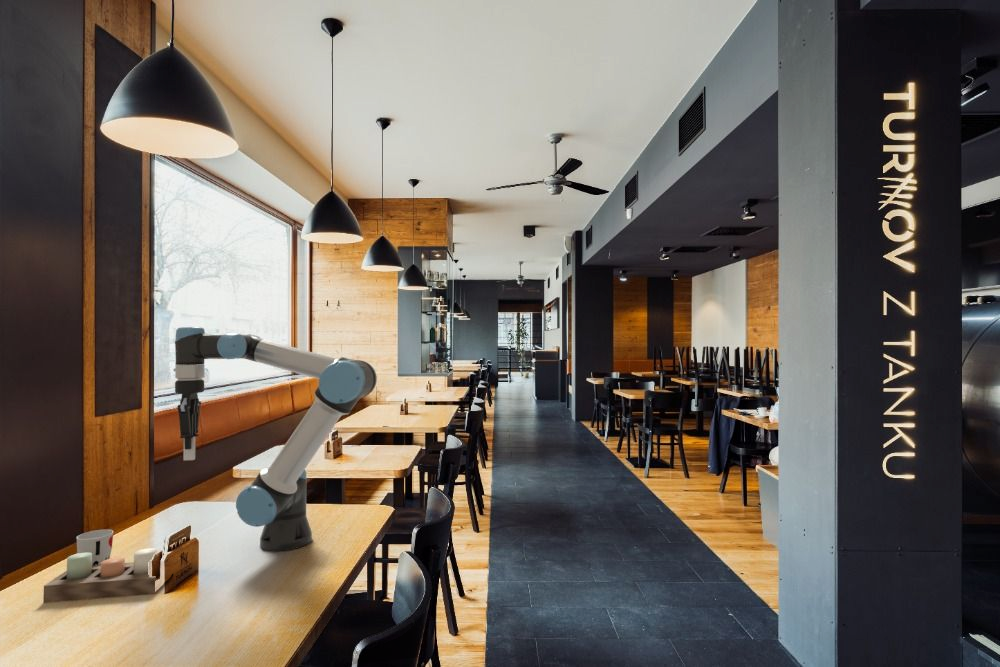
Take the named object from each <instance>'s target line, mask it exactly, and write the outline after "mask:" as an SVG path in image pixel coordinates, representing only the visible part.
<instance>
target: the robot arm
mask: <svg viewBox="0 0 1000 667" xmlns="http://www.w3.org/2000/svg"><path fill="white" fill-rule="evenodd" d="M174 347H175V362H174V363H175V365H174V366H175V368H174V367H173V372H174V373H175V374H174V376H175V377H174V378H175V379H177V380H175V381H174V392H175V394H181V399H180V401H179V403H180V404H178V405H177V411H178V418H179V430H180V432H179V433H180V436H179V438H180V439H183V461H194V460H196V437H199V435H200V434H199V422H200V412H201V410H200V409H201V406H202V401H201V400H200V399H199V396H198V394H200V393H203V392H205V380H204V378H205V360H210V359H211V360H212V359H213V360H235V359H236V360H237V359H244V360H247V361H248V360H249V361H252V362H255V363H259V364H260V363H261V364H263V365H266V366H269V367H270V366H271V367H274V368H278V369H281V370H285V371H289V372H291V373H296V374H298V375H299V374H300V375H302V376H306V377H310V378H314V379H317V380H318V386H317V387H316V389H315V390H314V392H313V394H314V395H313V396H314V399H315V400H314V401H313V403H312V404H311V406H310V408H309V409H308V410H307V411H306V413H305V415H304V416H303V418H302V419H301V421H300V422H299V423H298V425H297V426H296V428H295V429H294V431H293V432H292V434H291V436H290V437H289V438H288V440H287V441H286V443H285V444H284V445H283V447H282V448H281V450H280V452H279V453H278V454H277V455H276V458H275V459H274V460H273V462H272V463H271V465H269V466H268V467H263V468H262V469H261V470H260V471H259V473H258V474H257V476H256V477H255V479H254V480H253V482H252V483H251V484H250V485H248V486H246V487H244V488H243V489H242V490H241V491H240V493H239V494H238V495H237V497H236V500H235V509H236V511H237V512H236V513H237V515H238V517H239V519H240V520H241V521H242V522H243V523H244V524H246V525H248V526H251V527H255V528H256V527H257V528H259V527H263V529H262V531H261V535H260V538H259V547H260V548H261V549H263V550H266V551H270V552H271V551H274V552H276V551H277V552H280V551H289V550H294V549H300V548H302V547H304V546H307V545H308V544H309V543H311V542H312V540H313V538H312V537H313V532H312V529H311V526H310V522H309V520H308V517H307V489H308V488H307V484H308V482H307V481H308V478H307V471H306V468H307V466H308V465H309V464H310V462H312V459H313V458H314V456H315V455H316V453H317V452H319V449H320V448H321V446H322V444H324V442H325V441H326V439H327V437H329V435H330V433H331V431H332V430H333V428H335V426H336V425H337V423H338V421H339V420H340V418H341V417H342V416H345V415H349V414H350V413H351V411H352V410H353V408H354V407H355V406H356V404H357V402H358V401H359V400H360V399H362V398H364V397H367V396H369V395H370V394H371V393H372V392H373V390H374V389H375V387H376V385H377V380H378V379H377V378H378V376H377V373H376V370H375V368H374V367H373V365H371V364H369V362H367V361H365V360H362V359H352V358H347V357H343V356H342V357H339V358H334V357H331V356H328V355H325V354H324V355H323V354H320V353H316V352H312V351H309V350H305V349H303V348H298V347H294V346H290V345H287V344H283V343H279V342H276V341H272V340H268V339H264V338H261V337H260V336H258V335H253V334H241V333H235V332H226V333H219V332H218V333H206V331H205V329H204V328H203V327H200V326H190V327H189V326H181V327H178V328H177V329H176V330H175V340H174Z"/></svg>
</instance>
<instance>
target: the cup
mask: <svg viewBox="0 0 1000 667" xmlns="http://www.w3.org/2000/svg"><path fill="white" fill-rule="evenodd" d="M113 540H114V530H112V529H98V530H96V529H95V530H91V531H87V532H84V533H81V534H79V535H77V536H76V551H77V552H76V554H78V553H86V552H88V553H92V565H101V562H102V561H104V560H107V559H111V555H112V554H111V553H112V549H113Z"/></svg>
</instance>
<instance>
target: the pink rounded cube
mask: <svg viewBox="0 0 1000 667" xmlns="http://www.w3.org/2000/svg"><path fill="white" fill-rule="evenodd" d="M125 559H126V558H125V557H121V556H119V557H112V558H111V557H110V559H107V560H104V561H102V562H101V571H100V577H109V576H120V575H121V574H123V573H124V572H125V563H126V562H125V561H126V560H125Z"/></svg>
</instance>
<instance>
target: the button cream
mask: <svg viewBox="0 0 1000 667" xmlns="http://www.w3.org/2000/svg"><path fill="white" fill-rule="evenodd" d="M156 552H157V553H158V549H157V548H153V547H151V548H143V549H139V550H137V551H135V552H134V553H133V562H134V573H133V574H134V575H136V574H148V562H149V561H150V560H151V559H152V557H153V555H154V554H155V553H156Z"/></svg>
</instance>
